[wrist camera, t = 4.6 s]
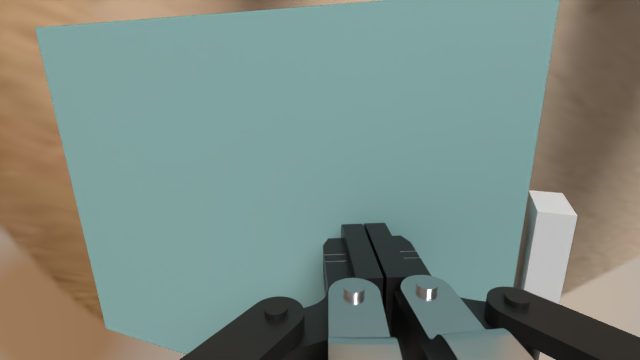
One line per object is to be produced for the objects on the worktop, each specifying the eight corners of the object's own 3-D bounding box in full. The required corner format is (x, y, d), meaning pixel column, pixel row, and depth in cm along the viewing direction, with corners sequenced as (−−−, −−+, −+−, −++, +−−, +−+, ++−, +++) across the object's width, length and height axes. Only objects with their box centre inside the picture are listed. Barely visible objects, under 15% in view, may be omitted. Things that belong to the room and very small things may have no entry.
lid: (600, -6, 10) (627, -20, 9) (518, 419, 15) (525, 466, 14) (75, 30, 18) (32, 27, 16) (133, 308, 23) (104, 329, 21)
